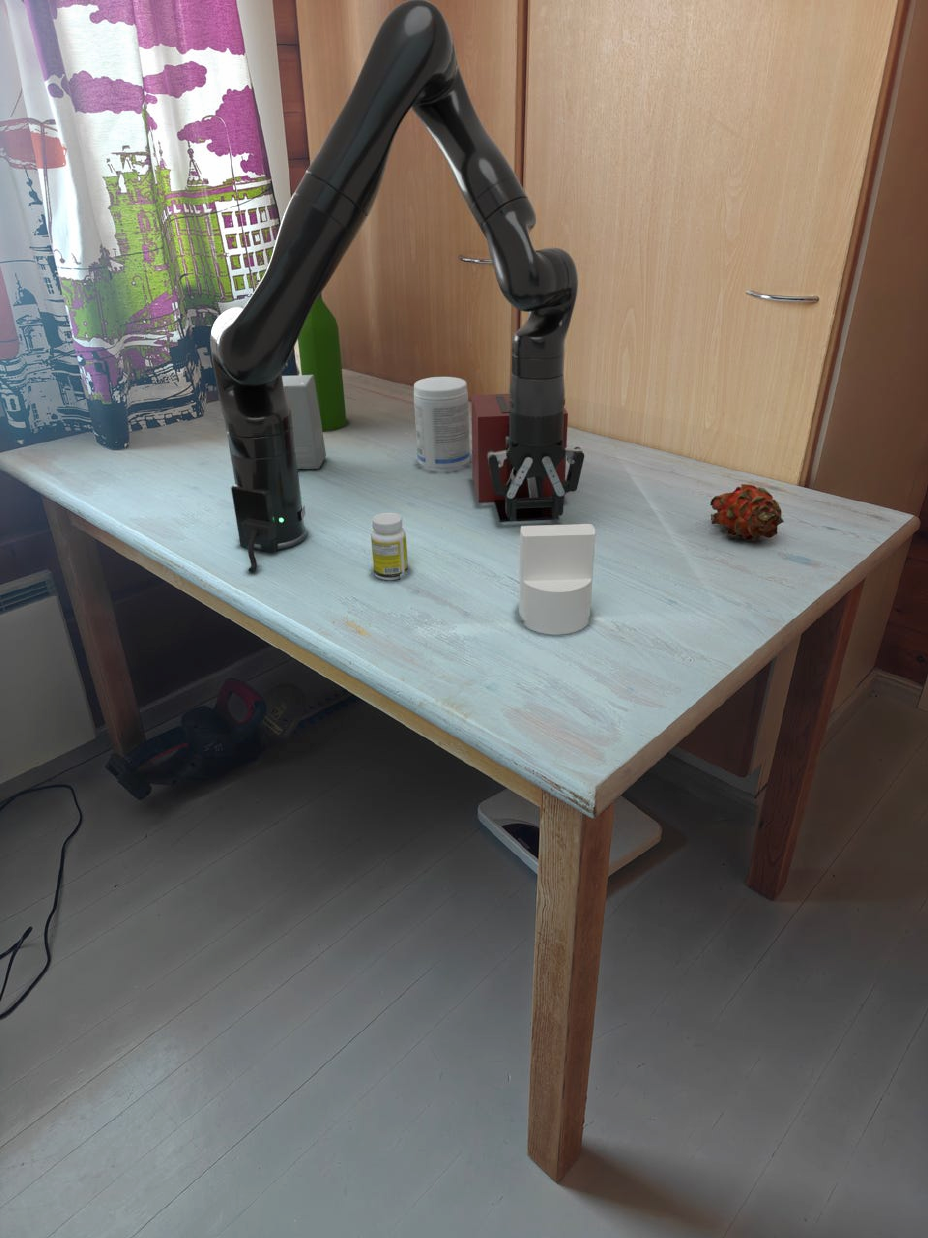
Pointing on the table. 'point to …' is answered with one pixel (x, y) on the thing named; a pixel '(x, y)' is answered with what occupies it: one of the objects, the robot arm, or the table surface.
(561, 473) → the toaster
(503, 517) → the lever bracket
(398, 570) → the supplement bottle
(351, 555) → the table surface
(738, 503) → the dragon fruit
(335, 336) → the wine bottle
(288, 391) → the cosmetic box
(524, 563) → the cylinder with rectangular tab
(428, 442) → the supplement tub
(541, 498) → the lever
